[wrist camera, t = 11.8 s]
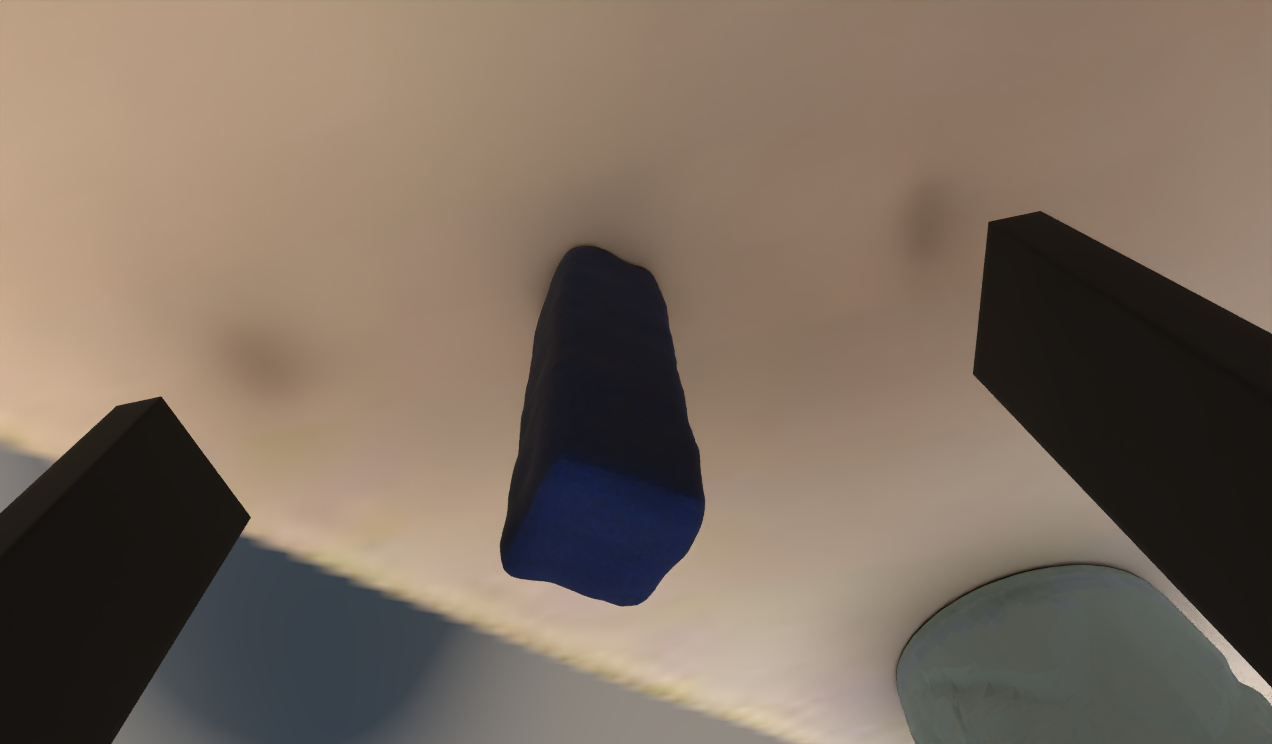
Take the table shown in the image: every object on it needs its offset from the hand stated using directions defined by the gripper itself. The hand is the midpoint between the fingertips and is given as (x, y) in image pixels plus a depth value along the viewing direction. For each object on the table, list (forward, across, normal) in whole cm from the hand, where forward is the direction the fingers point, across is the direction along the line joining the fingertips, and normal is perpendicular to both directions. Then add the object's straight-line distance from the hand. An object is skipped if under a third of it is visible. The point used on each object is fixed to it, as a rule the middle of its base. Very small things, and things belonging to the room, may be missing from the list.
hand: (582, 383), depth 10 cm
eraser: (+4, 0, 0) cm, 4 cm away
